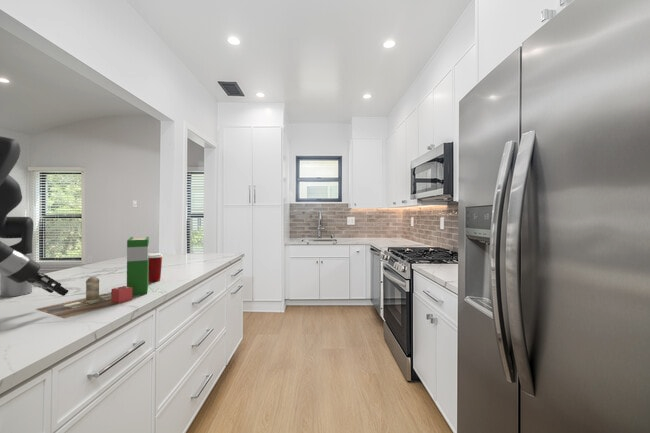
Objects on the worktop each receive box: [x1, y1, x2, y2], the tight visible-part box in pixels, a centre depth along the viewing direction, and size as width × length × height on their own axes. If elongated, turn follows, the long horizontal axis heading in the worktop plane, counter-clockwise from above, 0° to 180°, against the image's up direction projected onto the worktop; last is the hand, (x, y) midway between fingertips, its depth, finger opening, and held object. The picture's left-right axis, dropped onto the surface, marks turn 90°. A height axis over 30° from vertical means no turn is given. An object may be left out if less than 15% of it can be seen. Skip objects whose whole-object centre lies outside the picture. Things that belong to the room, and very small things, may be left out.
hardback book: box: [126, 236, 150, 297], centre depth 129 cm, size 18×7×24 cm, turn 31°
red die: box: [110, 285, 133, 304], centre depth 113 cm, size 5×5×5 cm
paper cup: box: [148, 252, 164, 283], centre depth 147 cm, size 8×8×14 cm
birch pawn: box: [83, 276, 101, 303], centre depth 112 cm, size 6×6×10 cm
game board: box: [35, 293, 133, 319], centre depth 108 cm, size 20×22×1 cm
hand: (59, 292), depth 103 cm, fingers open, 8 cm apart
